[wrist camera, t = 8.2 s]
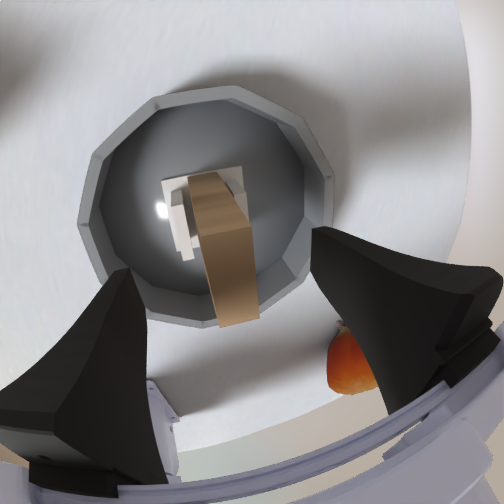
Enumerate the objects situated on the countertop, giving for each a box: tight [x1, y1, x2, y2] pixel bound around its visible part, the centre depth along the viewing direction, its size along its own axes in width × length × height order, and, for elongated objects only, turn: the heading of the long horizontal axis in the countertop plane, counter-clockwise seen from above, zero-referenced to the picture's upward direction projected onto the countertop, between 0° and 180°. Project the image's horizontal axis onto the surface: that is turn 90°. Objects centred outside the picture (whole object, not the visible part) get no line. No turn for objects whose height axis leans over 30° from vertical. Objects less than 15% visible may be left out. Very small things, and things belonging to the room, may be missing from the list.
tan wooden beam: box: [187, 172, 260, 328], centre depth 12 cm, size 4×2×7 cm, turn 3°
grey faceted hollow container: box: [77, 85, 335, 328], centre depth 15 cm, size 13×13×3 cm
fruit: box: [327, 321, 378, 395], centre depth 25 cm, size 8×8×8 cm
